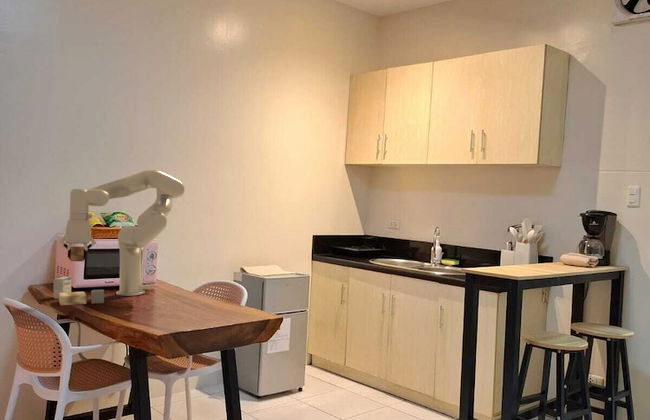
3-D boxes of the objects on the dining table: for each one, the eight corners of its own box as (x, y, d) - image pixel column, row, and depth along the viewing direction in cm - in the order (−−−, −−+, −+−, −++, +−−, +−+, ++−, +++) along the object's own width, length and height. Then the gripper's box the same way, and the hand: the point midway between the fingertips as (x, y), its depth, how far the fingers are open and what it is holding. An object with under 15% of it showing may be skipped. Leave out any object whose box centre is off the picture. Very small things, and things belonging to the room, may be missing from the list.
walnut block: (83, 260, 255) (84, 246, 255) (83, 261, 251) (83, 247, 251) (71, 260, 254) (72, 246, 254) (70, 261, 249) (71, 247, 249)
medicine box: (63, 298, 256) (63, 279, 256) (53, 298, 256) (53, 279, 256) (71, 295, 264) (71, 276, 264) (61, 295, 264) (61, 276, 264)
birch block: (84, 300, 255) (84, 291, 254) (86, 304, 246) (86, 295, 246) (59, 302, 250) (59, 292, 250) (60, 306, 241) (60, 296, 241)
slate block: (104, 301, 253) (104, 289, 253) (103, 303, 248) (103, 291, 248) (91, 301, 251) (91, 290, 251) (91, 303, 246) (91, 291, 246)
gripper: (100, 217, 259) (98, 258, 259) (58, 216, 253) (56, 258, 253) (99, 218, 251) (97, 260, 251) (56, 217, 246) (54, 260, 246)
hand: (77, 258), depth 252 cm, fingers closed on walnut block, 5 cm apart
